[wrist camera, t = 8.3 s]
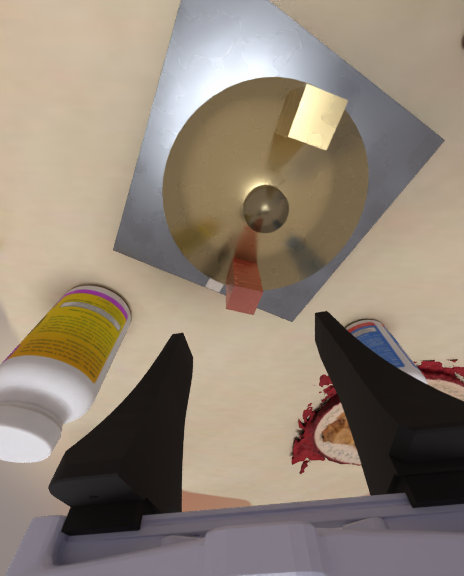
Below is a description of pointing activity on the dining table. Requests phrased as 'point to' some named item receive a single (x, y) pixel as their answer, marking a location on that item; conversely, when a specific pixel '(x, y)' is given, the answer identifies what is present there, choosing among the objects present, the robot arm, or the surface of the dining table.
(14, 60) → the dining table surface
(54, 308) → the supplement bottle
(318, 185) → the brass cymbal
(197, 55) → the cap plate
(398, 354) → the pill bottle
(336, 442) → the plate with food
